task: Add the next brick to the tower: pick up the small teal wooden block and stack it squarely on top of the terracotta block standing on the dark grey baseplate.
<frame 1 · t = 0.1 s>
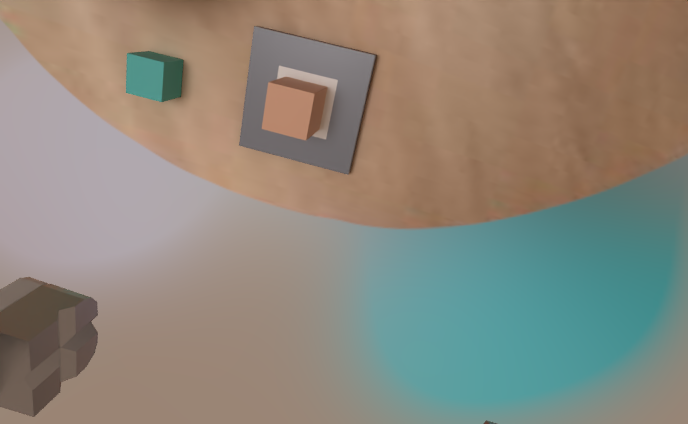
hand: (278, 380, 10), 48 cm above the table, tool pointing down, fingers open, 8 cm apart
baseplate: (305, 101, 56), on the table
teal block: (165, 74, 58), on the table
terracotta block: (302, 103, 55), point 1 cm above the table, touching baseplate
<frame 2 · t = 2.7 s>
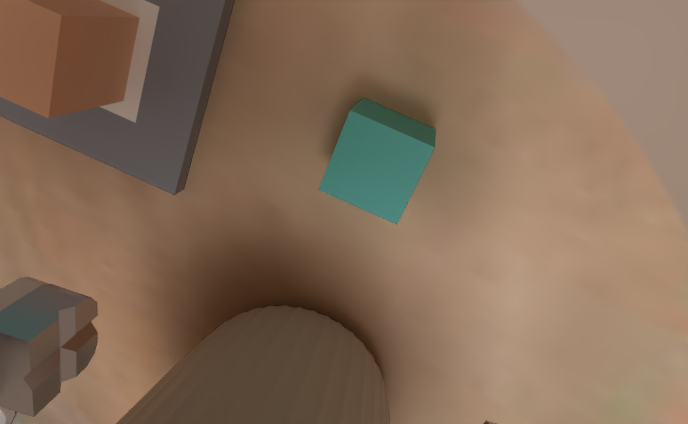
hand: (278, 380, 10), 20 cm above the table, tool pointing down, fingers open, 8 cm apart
canister: (299, 369, 35), on the table
baseplate: (106, 43, 29), on the table
teal block: (383, 148, 28), on the table
terracotta block: (92, 43, 28), point 1 cm above the table, touching baseplate
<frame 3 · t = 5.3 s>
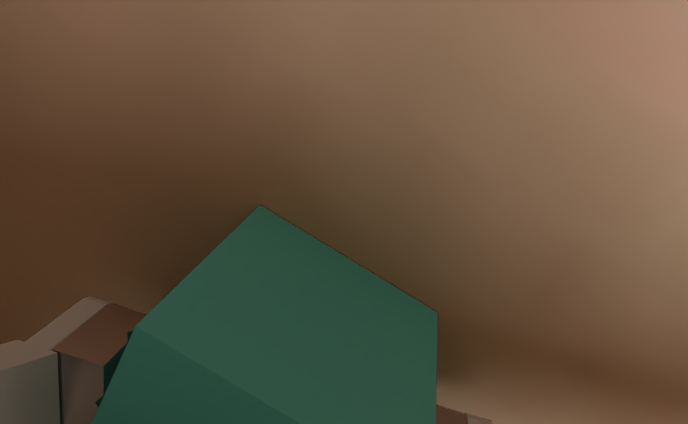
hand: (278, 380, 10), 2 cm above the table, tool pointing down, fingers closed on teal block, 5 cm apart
teal block: (302, 329, 11), on the table, touching gripper
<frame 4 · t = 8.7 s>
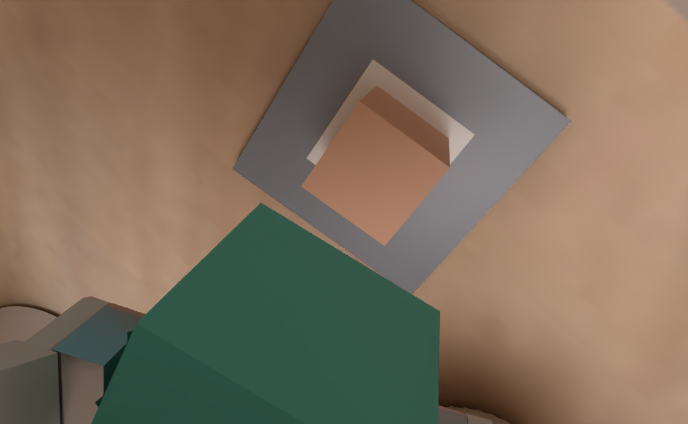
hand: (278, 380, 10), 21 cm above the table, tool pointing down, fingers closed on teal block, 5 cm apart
baseplate: (389, 142, 29), on the table
teal block: (303, 328, 11), point 19 cm above the table, touching gripper
terracotta block: (386, 147, 28), point 1 cm above the table, touching baseplate
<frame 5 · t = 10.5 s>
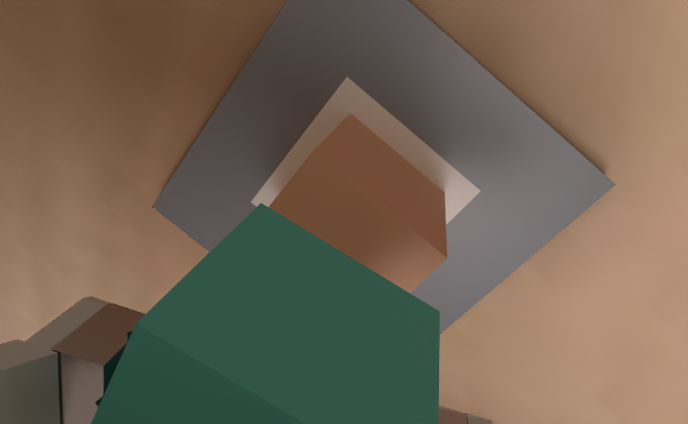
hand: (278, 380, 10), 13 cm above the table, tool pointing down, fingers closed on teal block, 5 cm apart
baseplate: (364, 187, 21), on the table
teal block: (303, 328, 11), point 11 cm above the table, touching gripper
terracotta block: (359, 196, 20), point 1 cm above the table, touching baseplate
when the fingers open (10 cm above the table, at t = 12.1 s): teal block drops 1 cm, resting on terracotta block.
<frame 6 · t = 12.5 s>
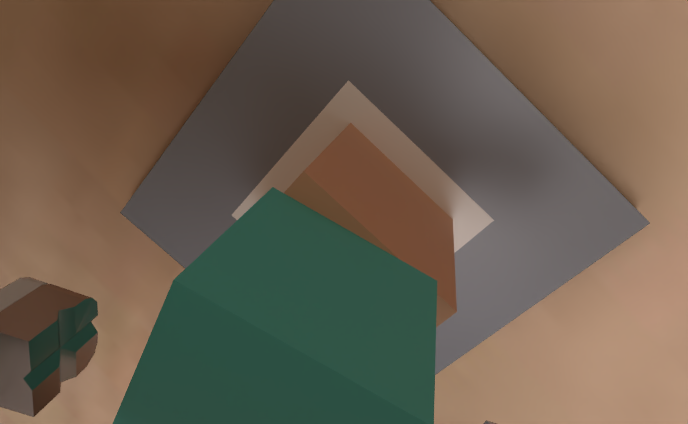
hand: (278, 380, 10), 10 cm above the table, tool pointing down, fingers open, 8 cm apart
baseplate: (360, 206, 19), on the table
teal block: (314, 301, 12), point 7 cm above the table, touching terracotta block
terracotta block: (355, 217, 18), point 1 cm above the table, touching baseplate, teal block
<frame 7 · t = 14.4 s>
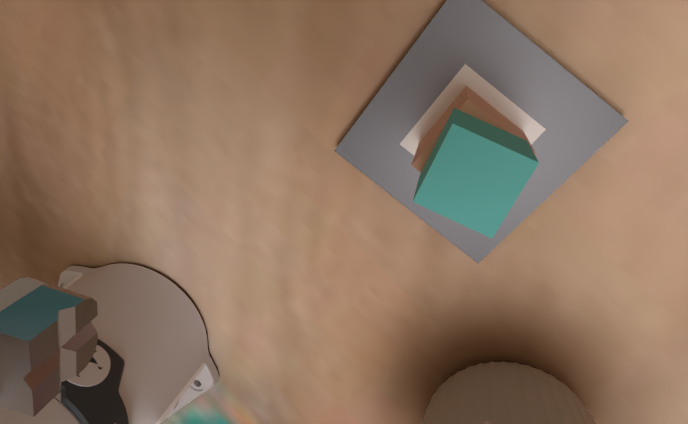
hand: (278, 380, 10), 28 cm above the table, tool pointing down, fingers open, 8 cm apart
canister: (503, 409, 43), on the table
baseplate: (469, 133, 34), on the table
teal block: (471, 159, 28), point 7 cm above the table, touching terracotta block
terracotta block: (469, 137, 33), point 1 cm above the table, touching baseplate, teal block
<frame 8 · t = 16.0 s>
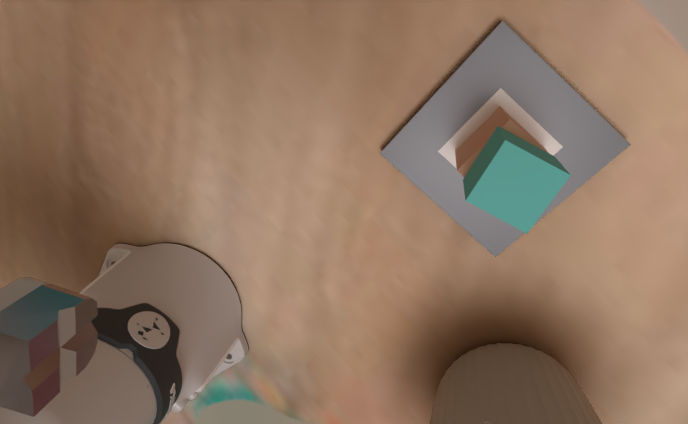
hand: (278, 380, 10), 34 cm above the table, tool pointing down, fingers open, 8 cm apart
canister: (504, 386, 49), on the table
baseplate: (497, 145, 40), on the table
teal block: (507, 168, 34), point 7 cm above the table, touching terracotta block
terracotta block: (498, 149, 39), point 1 cm above the table, touching baseplate, teal block
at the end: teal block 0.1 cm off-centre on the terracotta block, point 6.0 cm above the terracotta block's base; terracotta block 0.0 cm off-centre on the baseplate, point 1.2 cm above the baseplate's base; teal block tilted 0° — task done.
